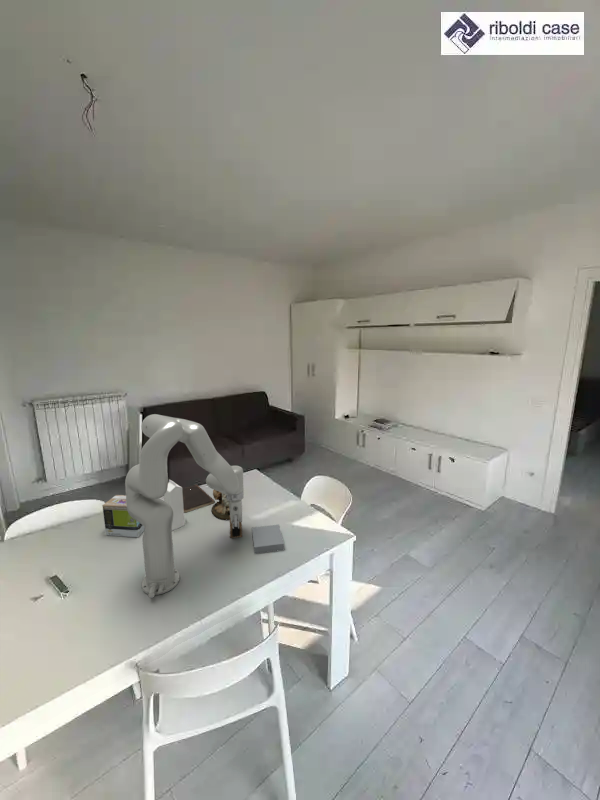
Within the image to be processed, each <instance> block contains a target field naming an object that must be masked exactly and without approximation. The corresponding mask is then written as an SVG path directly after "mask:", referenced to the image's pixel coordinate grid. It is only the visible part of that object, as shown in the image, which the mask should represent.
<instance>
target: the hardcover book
mask: <svg viewBox="0 0 600 800" xmlns="http://www.w3.org/2000/svg"><path fill="white" fill-rule="evenodd" d="M190 489H191V490H190ZM182 493H183V508H184V514H186V513H189V512H192V511H195V510H197V509H201V508H204V507H207V506H209V505H212V504H213V505H214V504H216V500H215V499H214V498H212V497H211V496H210V495H209V494H208V493H207V492H206V491H205V490H204V489H203V488H201V487H200V486H199V485H198V484H193V485H190V486H186V487H182Z"/></svg>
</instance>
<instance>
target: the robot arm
mask: <svg viewBox="0 0 600 800" xmlns="http://www.w3.org/2000/svg"><path fill="white" fill-rule="evenodd" d="M140 427H141V430H142V433H143V434H144V435H145V436H146V437H148V438H149V439H148V440H147V441H146V442H145V444H143V446H142V448H141V449H140V453H139V463H138V464H136V465H134V466H132V467H131V468H130V469H129V470H128V472H127V474H126V477H125V480H124V482H125V483H124V485H125V486H124V487H125V495H126V504H127V511H128V513H129V515H130V516H131V517H132V518H133V519H135V520H137V521H138V522H139V523H141V524H142V525H143V526H144V528H145V531H144V532H143V533H142V534H143V535H142V541H141V542H142V549H143V550H142V551H143V561H144V562H143V563H144V572H145V577H143V579H142V581H141V589H142V591H143V593H145V594H147V596H148V597H149V598H154V597H155V596H158V595H161V594H166V593H168V592H170V591H171V590H172V589H174V588H175V587H176V586H177V585H178V583H179V581H180V578H181V577H180V571H179V570H178V569H177V568H175V556H174V543H173V531H172V522H173V510H172V508H171V506H170V505H169V504H168V503H167V502H165V501H164V500H163V499H162V498H163V497H164V494H165V493H166V491H167V488H168V483H169V477H168V457H169V453H170V451H171V449H172V448H173V447H174V446H175V445H176V444H177V443H178V442H181V443H183V444H184V445H185V446H186V447H187V450H188V451H189V452H190V454H191V455H192V458H193V459H194V461H195V462H196V463H195V464H197V465H198V466H199V467H201V468H202V469H203V470H204V471H207V472H208V473H209V474H208V475H207V477H206V478H205V482H206V486H207V487H208V488H209V489H212V490H216V491H219V492H221V493H223V494H225V495H226V500H228V501H229V510H230V519H231V523H233V528H232V536H233V537H235V538H237V537H236V536H240V527H239V522H242V523H243V504H242V503H243V501H242V500H243V499H244V497H245V496H244V495H245V492H244V491H245V490H244V489H245V488H244V468H243V467H242V466H239V465H230V464H229V462H228V461H227V460H226V459H225V458H224V457H223V456H222V455H221V454H220V453H219V452H218V451H217V450H216V447H215V446H214V444H213V442H212V440H211V438H210V437H209V435H208V432H207V430H206V429H205V427H204V426H203V425H202V424H201V423H198V422H196V421H193V420H188V419H184V418H180V417H172V416H168V415H161V414H156V413H154V414H149V415H147V416H146V417H145V418H144V419H143V421H142V423H141V425H140ZM233 520H234V521H233ZM237 520H238V521H237ZM237 523H238V525H237Z"/></svg>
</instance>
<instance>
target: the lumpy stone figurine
mask: <svg viewBox="0 0 600 800" xmlns="http://www.w3.org/2000/svg"><path fill="white" fill-rule="evenodd" d="M212 490H213V491H212V497H213V500H214V501H216V502H215V503H213V505H212V507H211V513H212V516H214V517H215V518H216V519H218V520H221V521H230V510H229V501H228V500H226V495H225V494H223V493H221V492H219V491H216V490H214V489H212Z"/></svg>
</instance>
